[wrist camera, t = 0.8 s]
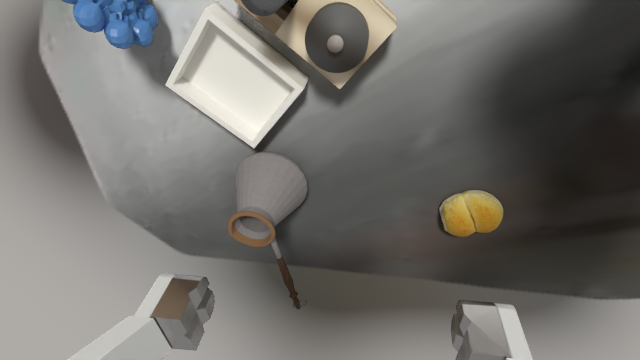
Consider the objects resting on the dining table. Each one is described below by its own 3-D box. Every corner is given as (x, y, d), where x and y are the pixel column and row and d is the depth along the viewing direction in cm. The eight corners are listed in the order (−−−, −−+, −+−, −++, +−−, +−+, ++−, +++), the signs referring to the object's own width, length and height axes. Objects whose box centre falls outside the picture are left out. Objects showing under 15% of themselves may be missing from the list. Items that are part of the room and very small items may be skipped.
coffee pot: (227, 154, 56) (184, 220, 44) (290, 133, 51) (262, 200, 40) (288, 243, 66) (267, 315, 55) (344, 232, 62) (334, 307, 51)
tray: (216, 1, 42) (205, 8, 39) (309, 77, 46) (304, 88, 43) (177, 75, 48) (164, 85, 46) (261, 136, 52) (254, 148, 50)
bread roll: (503, 221, 56) (510, 239, 52) (444, 230, 59) (448, 248, 56) (497, 181, 51) (504, 199, 48) (434, 194, 54) (437, 211, 51)
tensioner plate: (282, -97, 35) (258, -98, 29) (395, 15, 40) (397, 36, 33) (238, -18, 40) (209, -4, 34) (343, 73, 45) (336, 101, 38)
